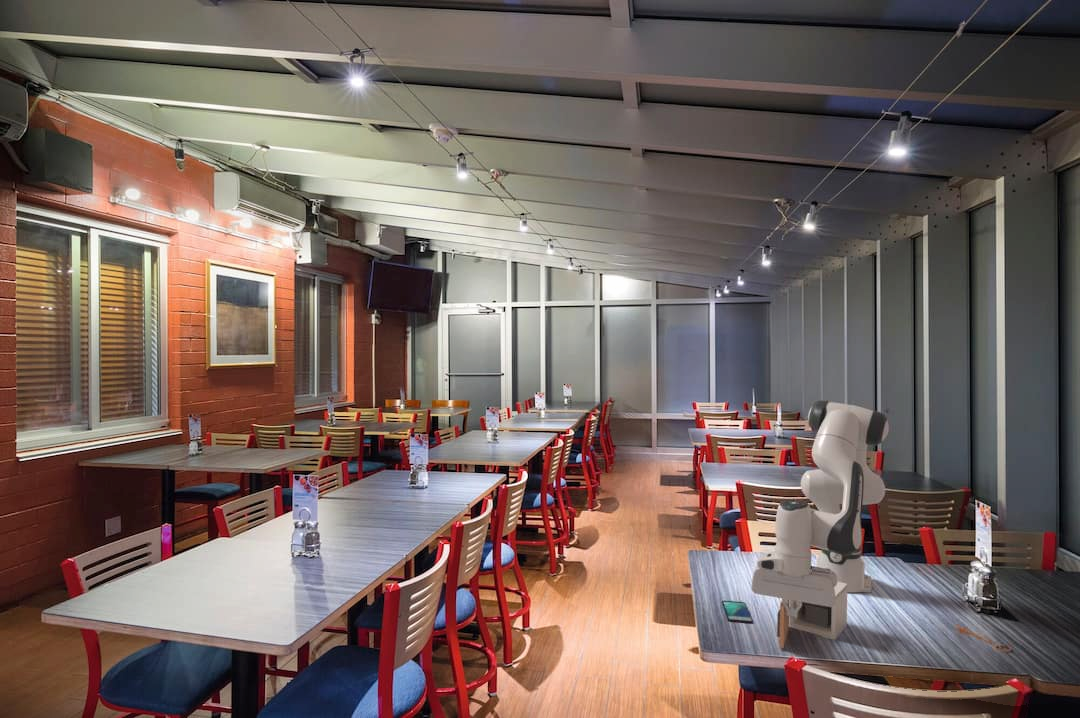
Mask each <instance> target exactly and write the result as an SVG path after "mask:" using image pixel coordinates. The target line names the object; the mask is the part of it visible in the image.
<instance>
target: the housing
mask: <svg viewBox="0 0 1080 718" xmlns="http://www.w3.org/2000/svg"><path fill="white" fill-rule="evenodd" d="M834 589H835V605H834V606H833V607H827V606H821V605H816V604H810V603H805V602H802V607H801V608H800V609H799V611H798V616H797V618H795V617H790V616H789V628H794V629H797V630H800V631H803V632H804V631H805V632H808V633H811V634H814V635H817V636H821V637H824V638H828V639H831V640H834V641H836V639H837V638H838V637H839V636H840V634H842V632H843V631H844V629H846V628H847V624H848V622H847V621H848V619H847V618H848V592H847V584H846V583H842V582H838V581H837V585H836V586H835V587H834ZM796 606H797V605H796V601H794V600H790V608H794V609H795V608H796Z"/></svg>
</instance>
